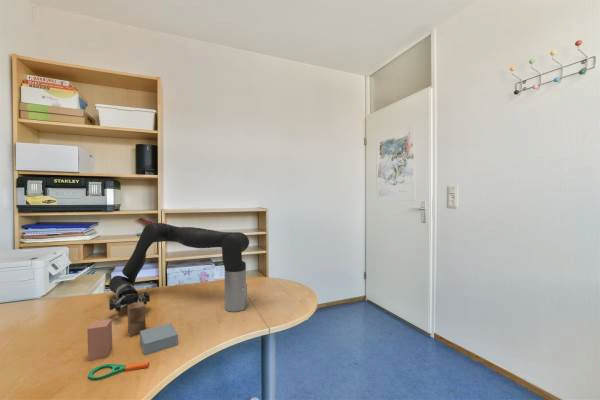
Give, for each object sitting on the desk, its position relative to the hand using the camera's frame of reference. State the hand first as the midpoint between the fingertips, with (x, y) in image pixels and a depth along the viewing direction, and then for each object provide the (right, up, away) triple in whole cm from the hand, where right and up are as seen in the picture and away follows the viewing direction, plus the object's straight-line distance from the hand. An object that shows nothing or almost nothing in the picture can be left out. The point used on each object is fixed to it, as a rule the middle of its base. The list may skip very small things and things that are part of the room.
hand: (132, 306), depth 110 cm
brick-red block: (+3, -7, -22) cm, 23 cm away
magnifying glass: (+14, -8, -30) cm, 34 cm away
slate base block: (+18, -7, -15) cm, 25 cm away
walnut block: (+7, -6, -8) cm, 12 cm away
